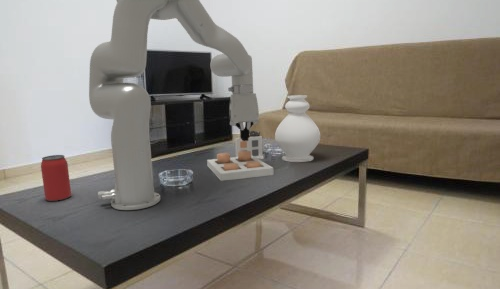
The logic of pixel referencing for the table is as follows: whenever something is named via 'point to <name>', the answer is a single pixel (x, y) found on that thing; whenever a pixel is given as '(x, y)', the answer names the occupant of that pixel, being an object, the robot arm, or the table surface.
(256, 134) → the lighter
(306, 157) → the decorative vase
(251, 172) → the button board
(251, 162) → the button front right
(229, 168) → the button front left
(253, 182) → the table surface
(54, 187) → the beer can
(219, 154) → the button back left
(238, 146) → the pattern card
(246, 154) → the button back right
